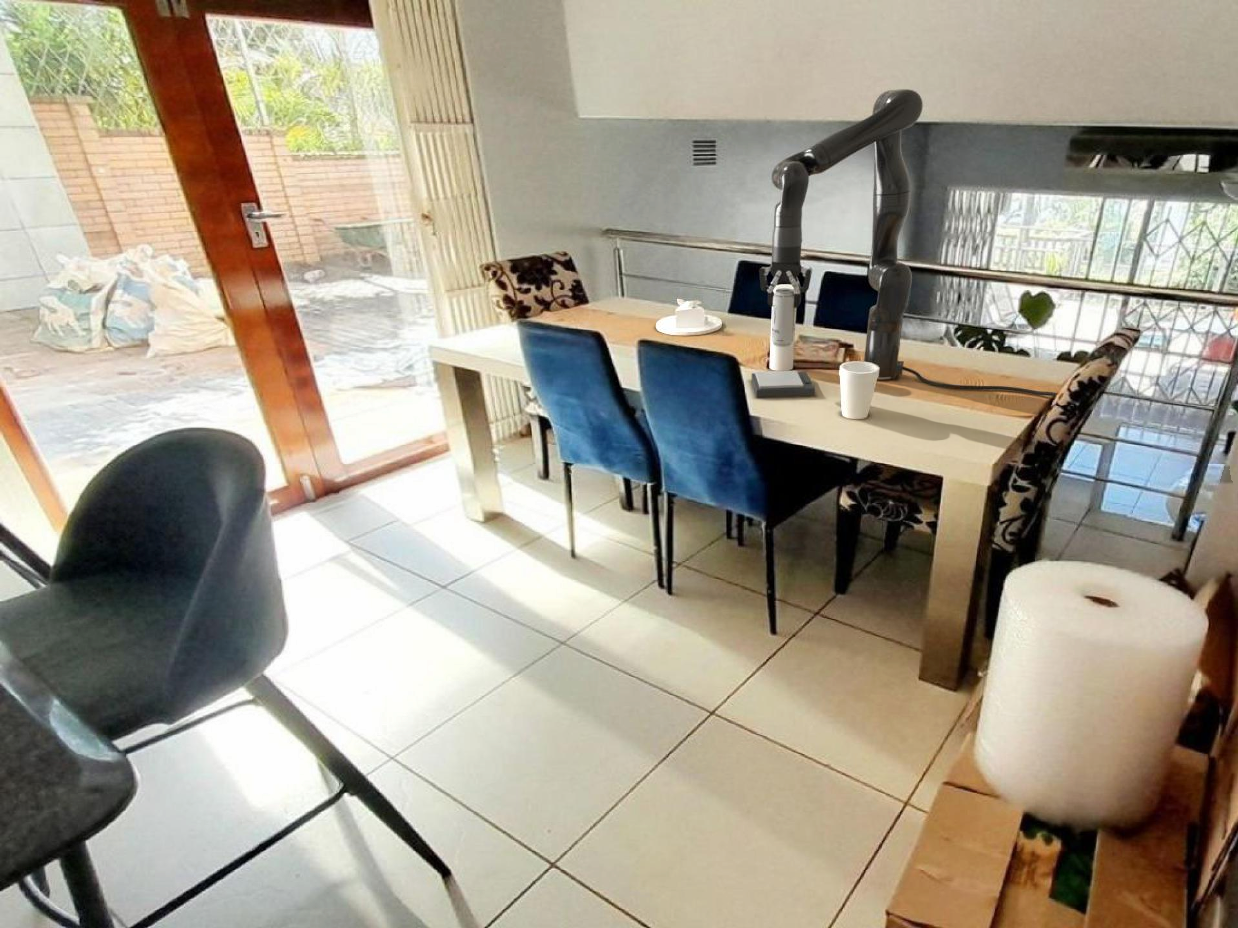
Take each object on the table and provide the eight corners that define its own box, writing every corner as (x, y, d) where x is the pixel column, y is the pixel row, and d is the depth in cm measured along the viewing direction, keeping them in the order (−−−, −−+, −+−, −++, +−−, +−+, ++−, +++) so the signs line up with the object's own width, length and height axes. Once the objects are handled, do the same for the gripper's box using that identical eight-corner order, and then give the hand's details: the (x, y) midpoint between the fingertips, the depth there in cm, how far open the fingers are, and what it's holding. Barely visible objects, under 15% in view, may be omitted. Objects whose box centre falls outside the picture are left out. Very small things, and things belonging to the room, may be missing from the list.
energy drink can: (768, 341, 199) (770, 288, 193) (789, 340, 200) (792, 287, 193) (774, 348, 194) (776, 293, 187) (795, 346, 194) (798, 292, 187)
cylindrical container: (793, 371, 216) (797, 289, 204) (769, 371, 217) (772, 290, 206) (792, 363, 222) (797, 284, 211) (769, 363, 223) (773, 284, 212)
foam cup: (868, 424, 178) (873, 375, 172) (831, 418, 182) (835, 370, 176) (877, 410, 185) (882, 363, 179) (842, 405, 189) (846, 359, 184)
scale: (805, 379, 209) (806, 369, 207) (814, 396, 196) (815, 385, 195) (751, 380, 210) (751, 370, 209) (756, 398, 198) (756, 387, 196)
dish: (726, 333, 255) (726, 302, 250) (657, 337, 256) (656, 306, 251) (718, 315, 277) (718, 287, 272) (654, 319, 278) (653, 290, 273)
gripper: (756, 245, 184) (754, 309, 192) (812, 246, 179) (808, 311, 186) (762, 240, 190) (760, 302, 198) (817, 241, 185) (813, 304, 192)
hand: (783, 306), depth 192 cm, fingers closed on energy drink can, 6 cm apart
